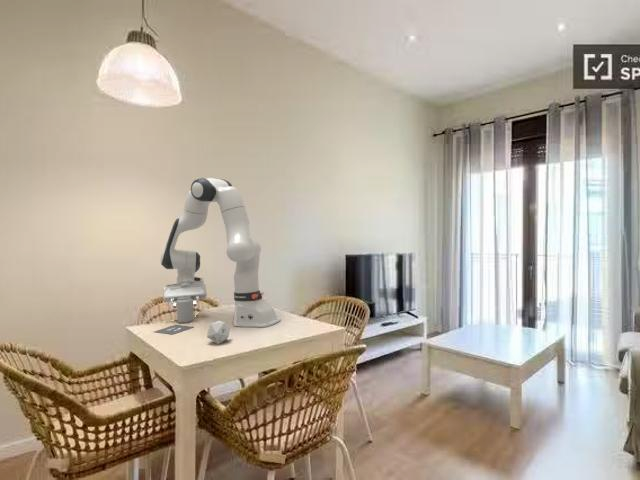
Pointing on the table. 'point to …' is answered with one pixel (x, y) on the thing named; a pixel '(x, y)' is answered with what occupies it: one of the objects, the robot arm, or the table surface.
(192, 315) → the can
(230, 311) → the table surface
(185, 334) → the table surface
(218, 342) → the die
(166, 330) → the mat
